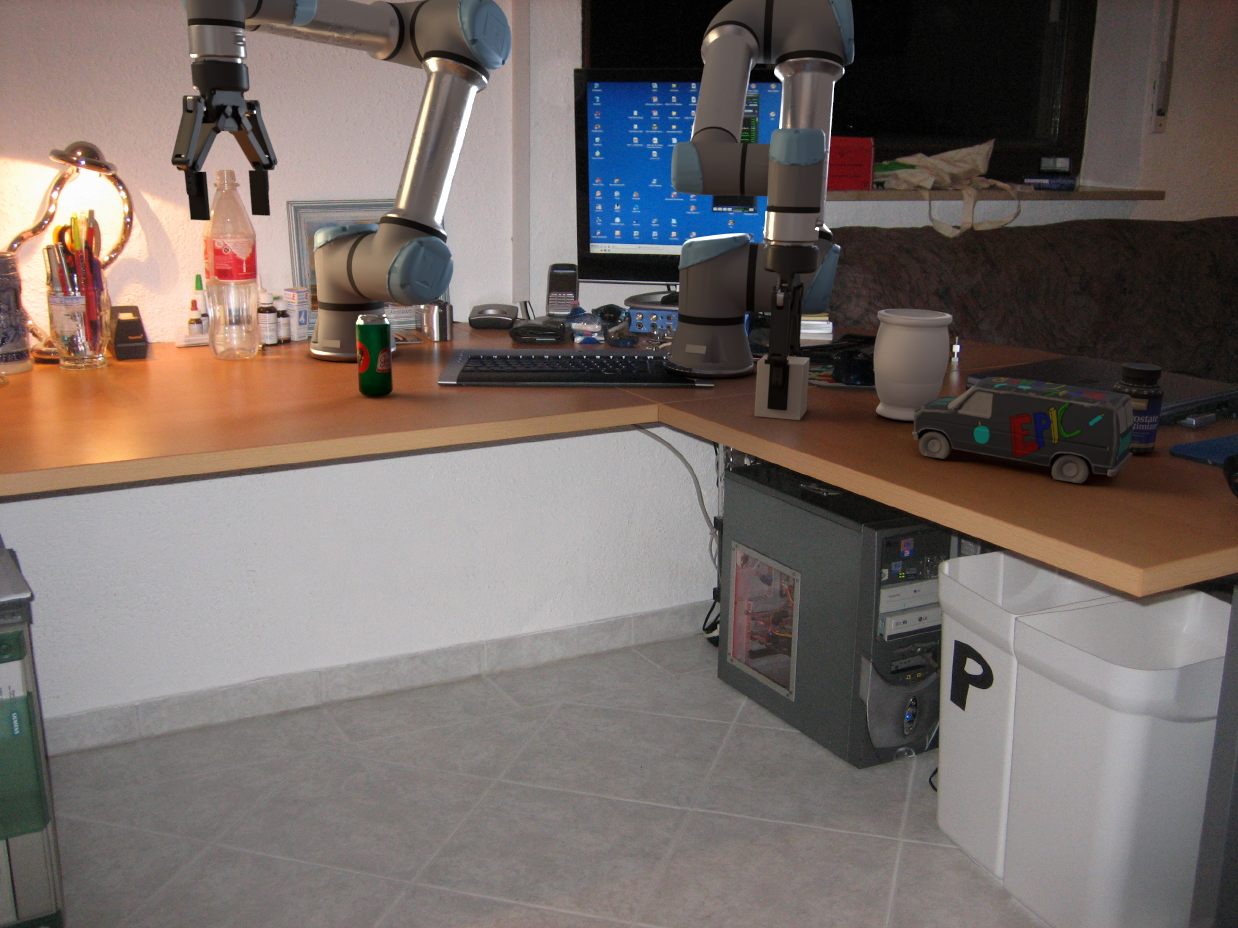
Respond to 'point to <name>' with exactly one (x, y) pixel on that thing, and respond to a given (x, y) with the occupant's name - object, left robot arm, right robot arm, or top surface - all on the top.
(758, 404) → the block
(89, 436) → the top surface
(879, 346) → the jar
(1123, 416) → the toy van
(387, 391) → the soda can
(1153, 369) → the pill bottle
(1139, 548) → the top surface
